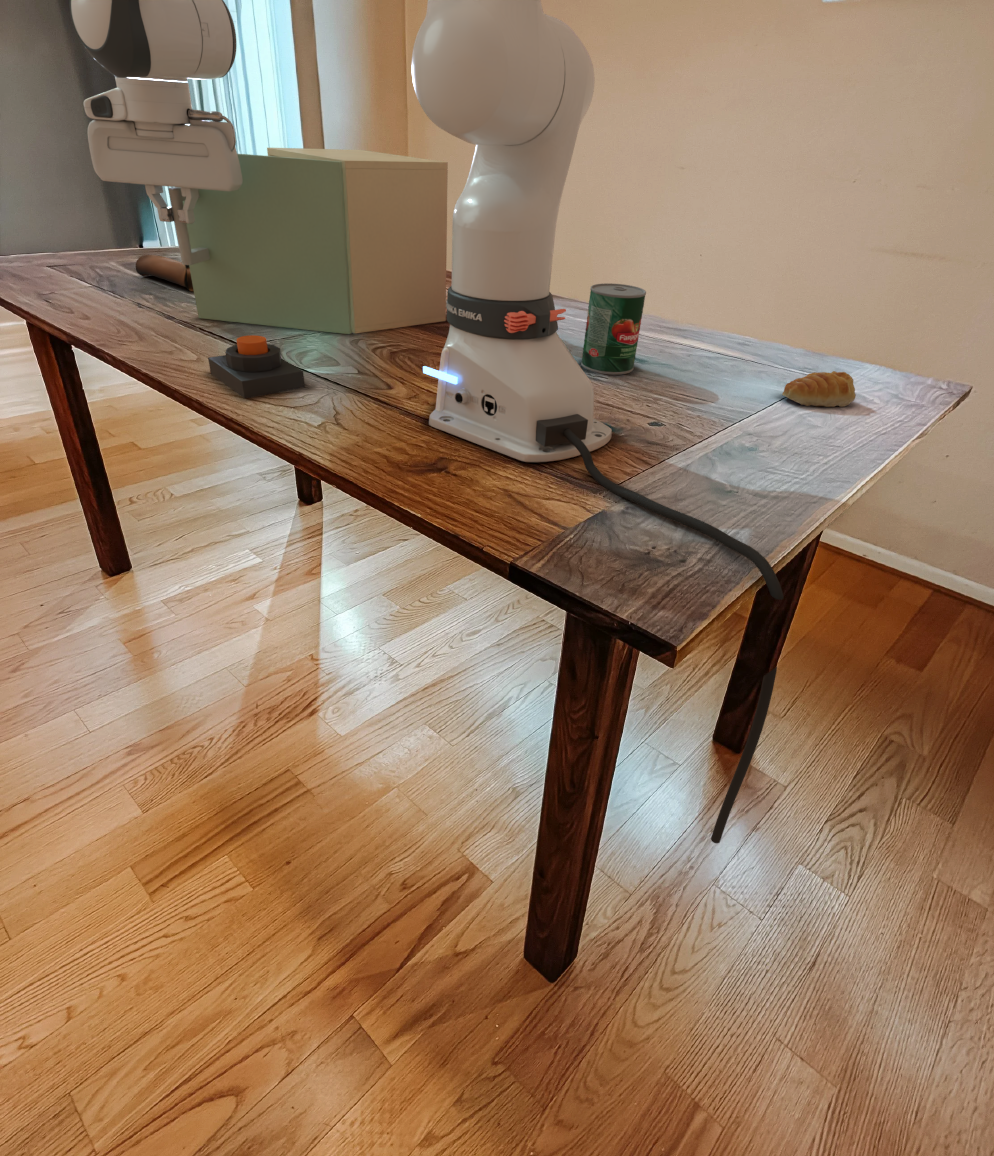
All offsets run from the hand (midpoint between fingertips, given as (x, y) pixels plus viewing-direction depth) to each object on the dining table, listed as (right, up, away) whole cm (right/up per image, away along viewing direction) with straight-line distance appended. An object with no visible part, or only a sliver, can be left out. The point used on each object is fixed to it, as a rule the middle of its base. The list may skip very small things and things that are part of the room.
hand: (177, 222), depth 100 cm
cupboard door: (+10, -12, +10) cm, 18 cm away
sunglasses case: (-16, +6, +35) cm, 39 cm away
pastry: (+91, -27, -4) cm, 95 cm away
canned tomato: (+63, -20, +4) cm, 66 cm away
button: (+15, -23, -12) cm, 30 cm away
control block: (+15, -26, -10) cm, 31 cm away
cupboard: (+22, -3, +24) cm, 33 cm away
